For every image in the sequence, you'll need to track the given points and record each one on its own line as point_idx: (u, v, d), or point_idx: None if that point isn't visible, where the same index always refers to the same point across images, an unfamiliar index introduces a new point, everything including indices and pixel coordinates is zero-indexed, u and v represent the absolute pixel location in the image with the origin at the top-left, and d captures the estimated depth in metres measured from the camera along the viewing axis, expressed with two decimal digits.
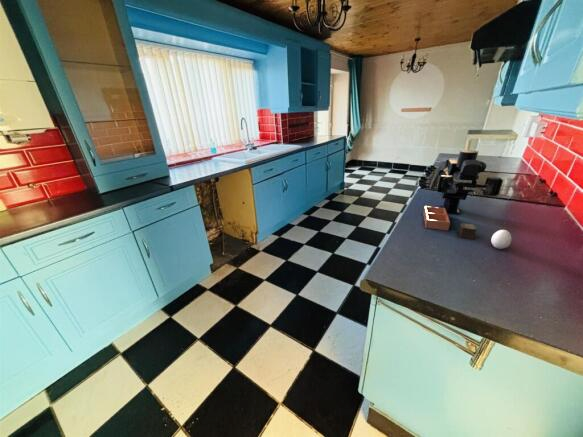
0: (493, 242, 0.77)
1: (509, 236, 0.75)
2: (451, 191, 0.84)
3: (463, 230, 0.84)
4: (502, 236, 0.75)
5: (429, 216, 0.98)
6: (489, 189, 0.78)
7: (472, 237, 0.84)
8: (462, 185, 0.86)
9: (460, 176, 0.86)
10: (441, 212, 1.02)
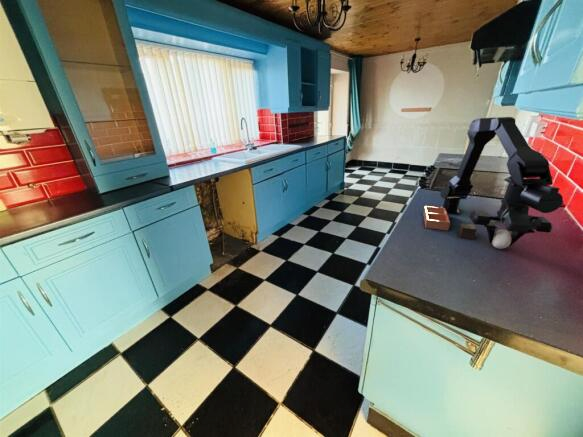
0: (493, 242, 0.77)
1: (509, 236, 0.75)
2: (488, 234, 0.79)
3: (463, 230, 0.84)
4: (502, 236, 0.75)
5: (429, 216, 0.98)
6: (513, 241, 0.75)
7: (472, 237, 0.84)
8: None
9: None
10: (441, 212, 1.02)
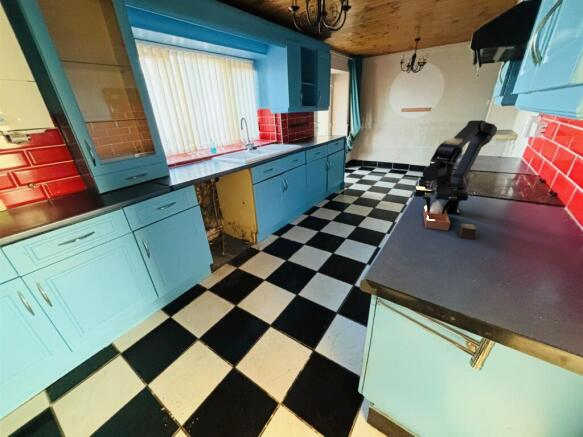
0: (430, 210, 0.99)
1: (440, 205, 0.97)
2: None
3: (463, 230, 0.84)
4: (435, 205, 0.97)
5: (429, 216, 0.98)
6: (444, 209, 0.97)
7: (472, 237, 0.84)
8: None
9: (433, 192, 0.95)
10: None
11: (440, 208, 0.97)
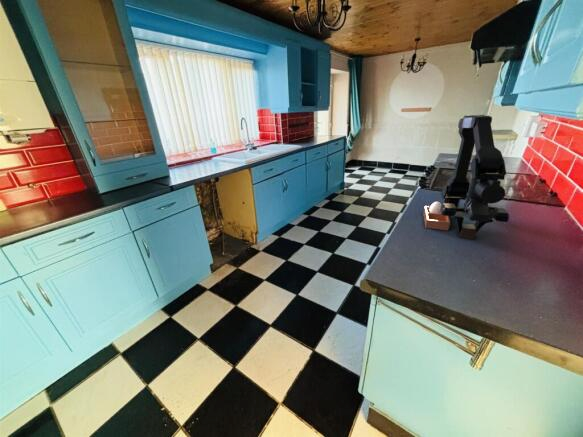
0: (430, 211, 1.00)
1: (440, 206, 0.97)
2: (457, 224, 0.87)
3: (463, 230, 0.84)
4: (435, 206, 0.97)
5: (429, 216, 0.98)
6: (476, 230, 0.83)
7: (472, 237, 0.84)
8: None
9: None
10: None
11: None
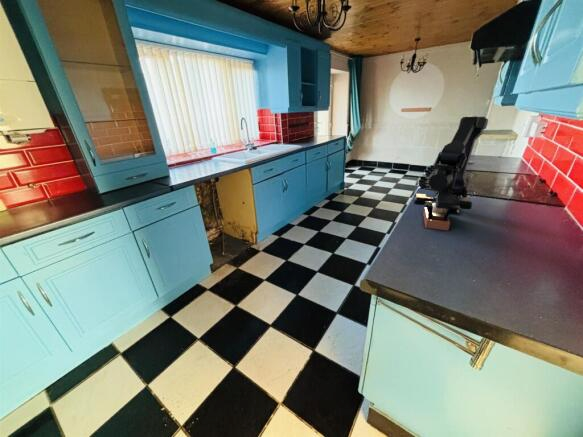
0: None
1: None
2: None
3: (433, 218, 0.92)
4: (435, 206, 0.97)
5: None
6: (444, 218, 0.92)
7: None
8: None
9: (434, 200, 0.89)
10: None
11: (440, 209, 0.97)
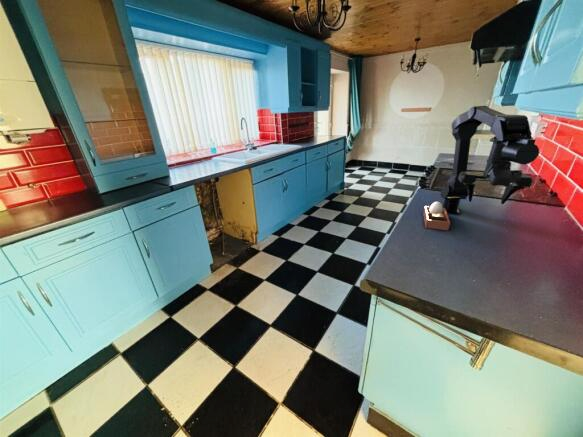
0: (430, 211, 1.00)
1: (440, 206, 0.97)
2: (468, 193, 0.85)
3: (433, 218, 0.93)
4: (435, 206, 0.97)
5: (429, 216, 0.98)
6: (505, 199, 0.80)
7: None
8: None
9: (486, 177, 0.78)
10: None
11: (440, 209, 0.97)
